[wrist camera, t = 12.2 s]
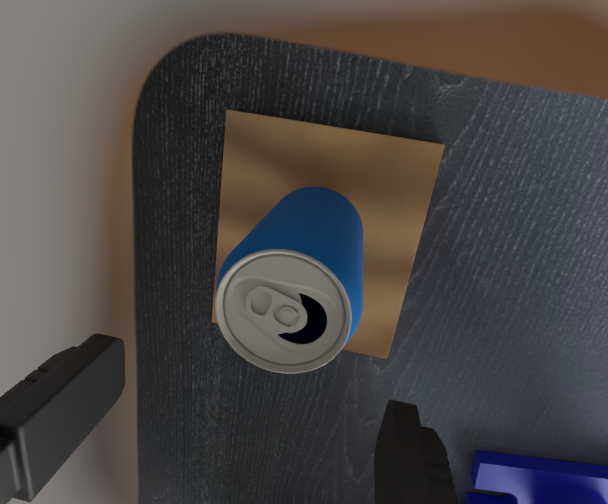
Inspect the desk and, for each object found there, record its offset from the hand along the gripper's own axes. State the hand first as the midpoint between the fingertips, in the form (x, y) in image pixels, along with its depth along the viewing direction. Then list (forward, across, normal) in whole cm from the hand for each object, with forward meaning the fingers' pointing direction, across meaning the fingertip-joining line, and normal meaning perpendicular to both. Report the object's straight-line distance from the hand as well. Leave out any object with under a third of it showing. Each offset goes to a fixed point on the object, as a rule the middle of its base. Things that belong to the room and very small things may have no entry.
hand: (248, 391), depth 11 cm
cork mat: (+17, 0, +1) cm, 17 cm away
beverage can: (+17, 0, 0) cm, 17 cm away
